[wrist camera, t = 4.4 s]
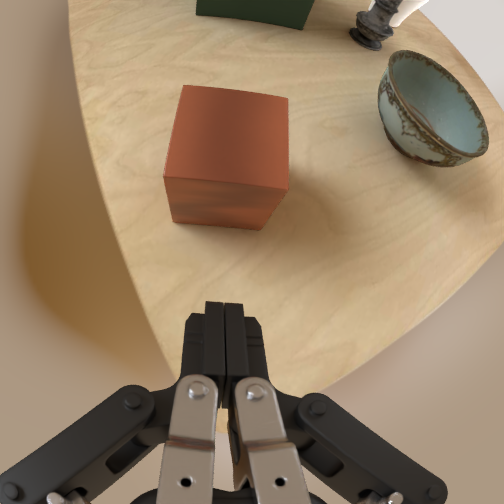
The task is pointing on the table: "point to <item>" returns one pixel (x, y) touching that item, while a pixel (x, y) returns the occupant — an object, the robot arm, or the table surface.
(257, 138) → the block
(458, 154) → the bowl
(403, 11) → the cup
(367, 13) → the dark grey chess piece
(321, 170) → the table surface
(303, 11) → the box
